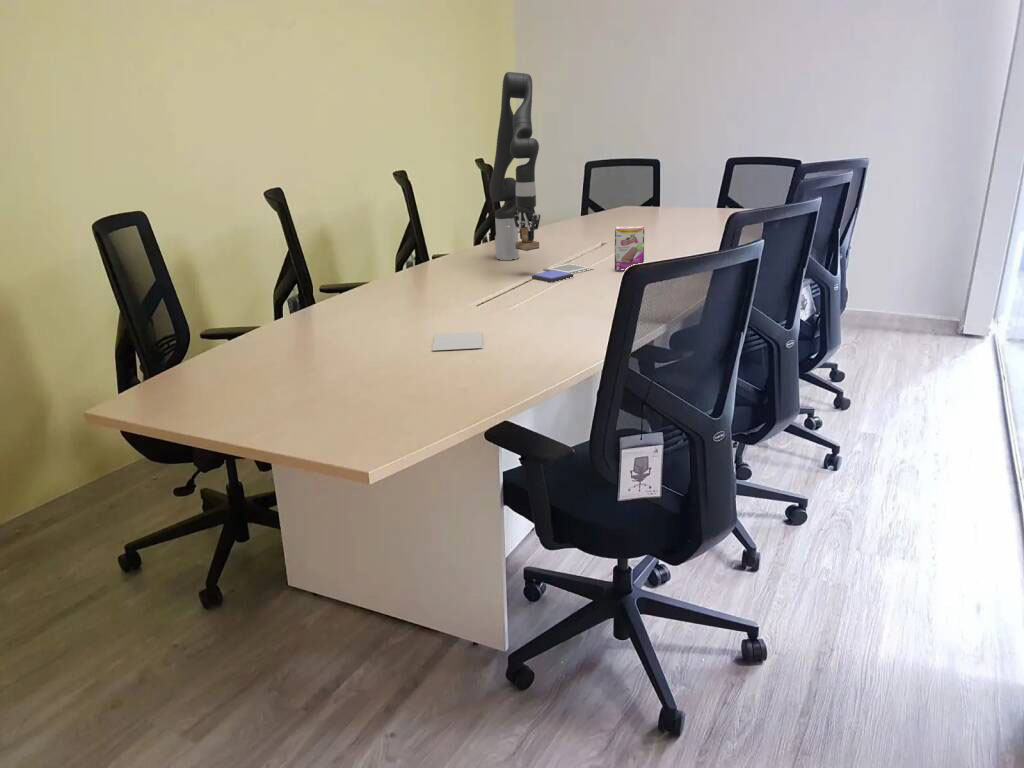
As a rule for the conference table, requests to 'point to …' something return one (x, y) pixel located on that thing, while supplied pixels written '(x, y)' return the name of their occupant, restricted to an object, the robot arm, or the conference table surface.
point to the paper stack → (457, 341)
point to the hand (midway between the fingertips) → (527, 239)
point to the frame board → (568, 268)
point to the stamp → (526, 242)
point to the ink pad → (552, 276)
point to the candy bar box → (628, 246)
